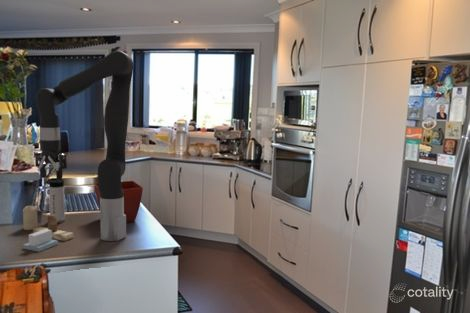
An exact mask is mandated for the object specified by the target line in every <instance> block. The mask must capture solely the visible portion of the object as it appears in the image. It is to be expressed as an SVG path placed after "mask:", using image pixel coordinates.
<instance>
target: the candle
mask: <svg viewBox="0 0 470 313" xmlns="http://www.w3.org/2000/svg"><path fill="white" fill-rule="evenodd" d="M22 221H23V223H22V224H23V230H25V231H33V229H35V228H39V227H38V226H39V225H38V208H37V207H36V206H34V205H33V204H31V205H27V206H24V207H23V209H22Z"/></svg>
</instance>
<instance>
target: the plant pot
mask: <svg viewBox="0 0 470 313" xmlns="http://www.w3.org/2000/svg"><path fill="white" fill-rule="evenodd" d="M93 185H94V192H95V196H96V201H97V204H98V206H99V209H100V192H99V189H98V182H96V183H94V184H93ZM121 187H122V189H123V191H124V215H126V223H131V222H135V221H136V219H137V217H138V216H137V215H138V213H139V209H140V206H141V202H142V196H143V190H144V187H143V186H142V185H140V184H138V183H137V182H136V181H135V180H123V181H122V180H121Z"/></svg>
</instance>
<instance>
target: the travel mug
mask: <svg viewBox="0 0 470 313" xmlns="http://www.w3.org/2000/svg"><path fill="white" fill-rule="evenodd" d="M48 182H49V183H48V185H49V186H48V187H49V188H48V190H49V191H48V193H49V194H48V195H49V215H57V224H61V223H64V222H66V217H65V216H66V215H65V214H66V212H65V209H66V208H65V207H66V206H65V185H64V184H65V182H64V179H63V178H62V179H60V180H57V179H56V177H53V178H51V179H49V181H48Z"/></svg>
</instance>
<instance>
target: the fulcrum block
mask: <svg viewBox="0 0 470 313" xmlns="http://www.w3.org/2000/svg"><path fill="white" fill-rule="evenodd" d="M57 245H59V241H58V239H53V238H52V230H48V229H45V230H42V231H39V232H36V233H33V232H32V233H30V234H28V242H26V243H24V244H22V248H23V249H24V250H28V251H34V252H38V253H39V252H43V251H45V250H47V249H49V248H52V247H55V246H57Z"/></svg>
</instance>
